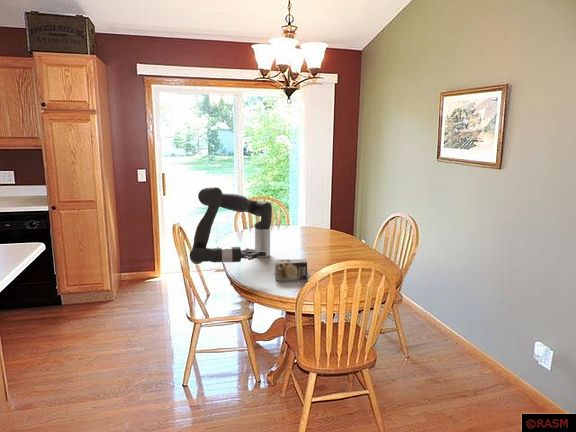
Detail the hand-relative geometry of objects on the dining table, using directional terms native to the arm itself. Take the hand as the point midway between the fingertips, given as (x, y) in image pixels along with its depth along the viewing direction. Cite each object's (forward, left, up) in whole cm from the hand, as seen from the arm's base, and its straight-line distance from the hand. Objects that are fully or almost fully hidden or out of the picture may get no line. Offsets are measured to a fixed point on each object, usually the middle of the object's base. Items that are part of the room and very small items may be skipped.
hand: (265, 253), depth 208 cm
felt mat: (0, +15, -14) cm, 20 cm away
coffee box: (0, +5, -9) cm, 10 cm away
